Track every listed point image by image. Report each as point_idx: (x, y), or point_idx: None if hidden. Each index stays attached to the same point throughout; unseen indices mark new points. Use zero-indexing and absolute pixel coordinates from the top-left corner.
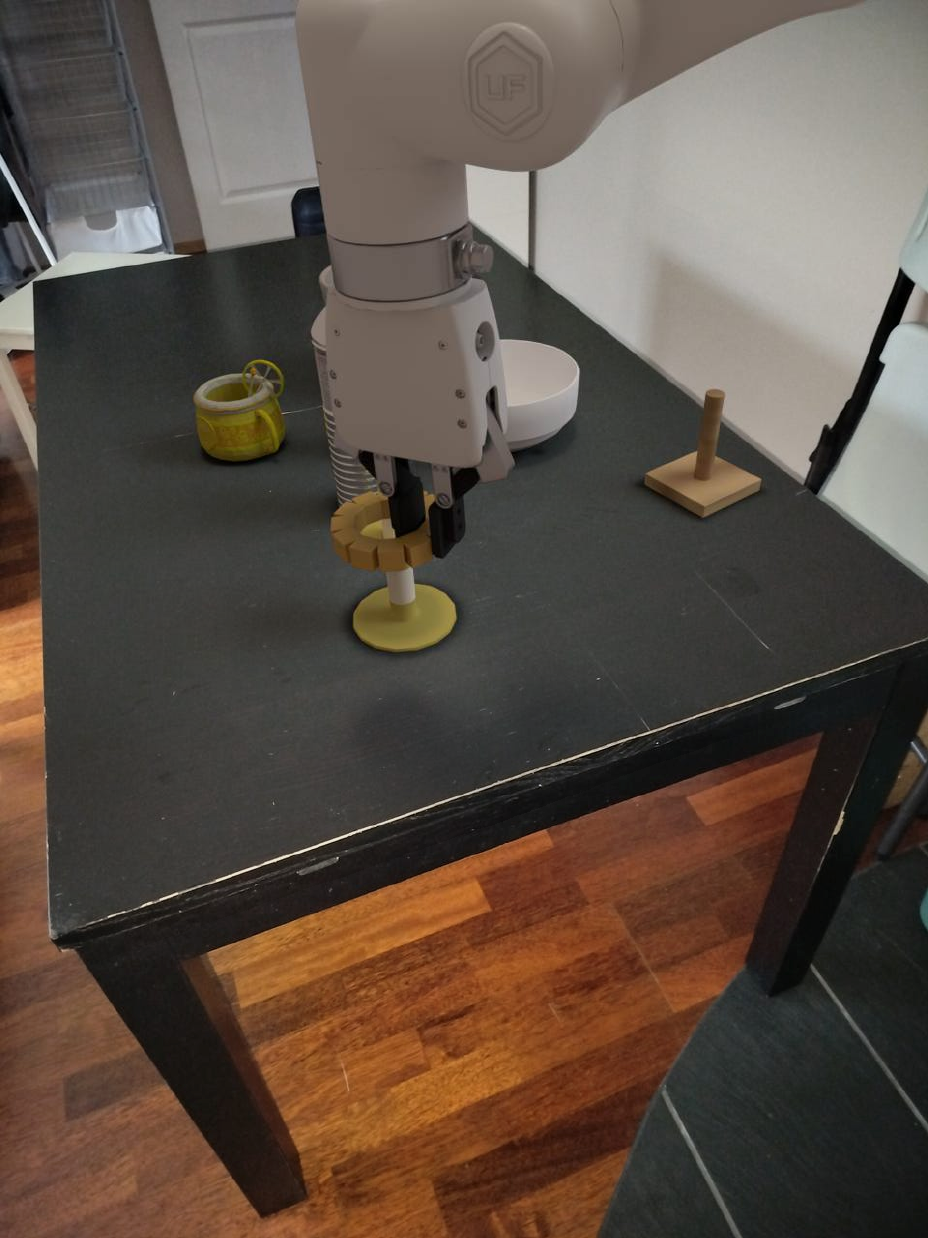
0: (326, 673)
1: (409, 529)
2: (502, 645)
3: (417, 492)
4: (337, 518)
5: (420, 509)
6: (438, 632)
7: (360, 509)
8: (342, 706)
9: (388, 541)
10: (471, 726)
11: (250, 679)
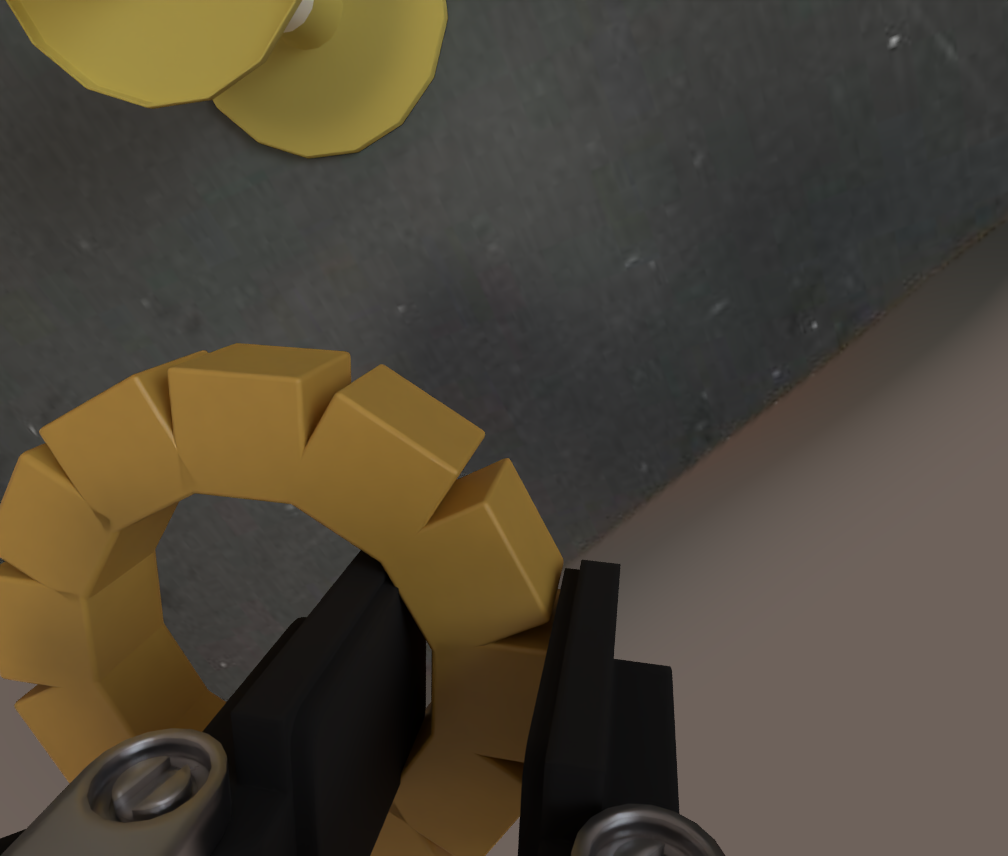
0: (254, 277)
1: (397, 747)
2: (600, 12)
3: (334, 756)
4: (42, 711)
5: (381, 660)
6: (422, 42)
7: (84, 627)
8: None
9: None
10: (624, 318)
11: (129, 348)
